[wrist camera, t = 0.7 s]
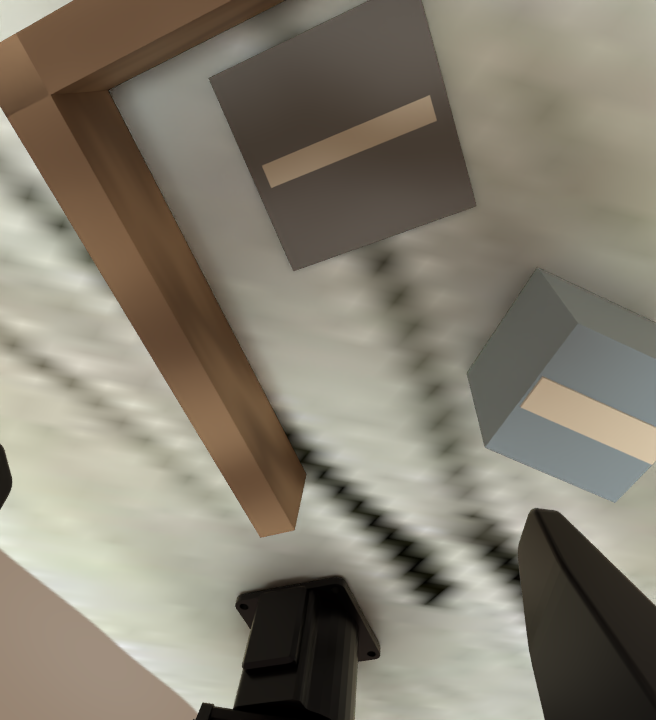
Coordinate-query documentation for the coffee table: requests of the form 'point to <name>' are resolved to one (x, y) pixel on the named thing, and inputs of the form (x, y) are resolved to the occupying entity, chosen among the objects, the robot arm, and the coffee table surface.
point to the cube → (570, 387)
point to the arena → (267, 167)
